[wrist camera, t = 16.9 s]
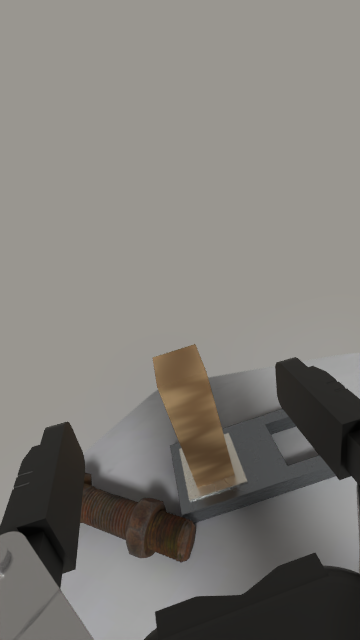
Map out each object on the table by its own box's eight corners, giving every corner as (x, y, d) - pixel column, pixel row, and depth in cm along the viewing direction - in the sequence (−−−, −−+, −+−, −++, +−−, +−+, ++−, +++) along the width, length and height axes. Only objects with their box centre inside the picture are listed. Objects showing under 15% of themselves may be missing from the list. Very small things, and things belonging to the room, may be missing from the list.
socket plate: (186, 525, 30) (181, 514, 29) (174, 455, 37) (169, 444, 36) (358, 468, 30) (359, 455, 29) (314, 410, 37) (313, 397, 36)
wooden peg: (197, 487, 30) (157, 387, 23) (189, 453, 34) (152, 357, 27) (234, 475, 30) (206, 371, 24) (223, 442, 34) (195, 344, 27)
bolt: (196, 569, 28) (74, 520, 34) (205, 507, 30) (89, 471, 36) (171, 586, 23) (35, 525, 30) (184, 511, 25) (54, 469, 32)
